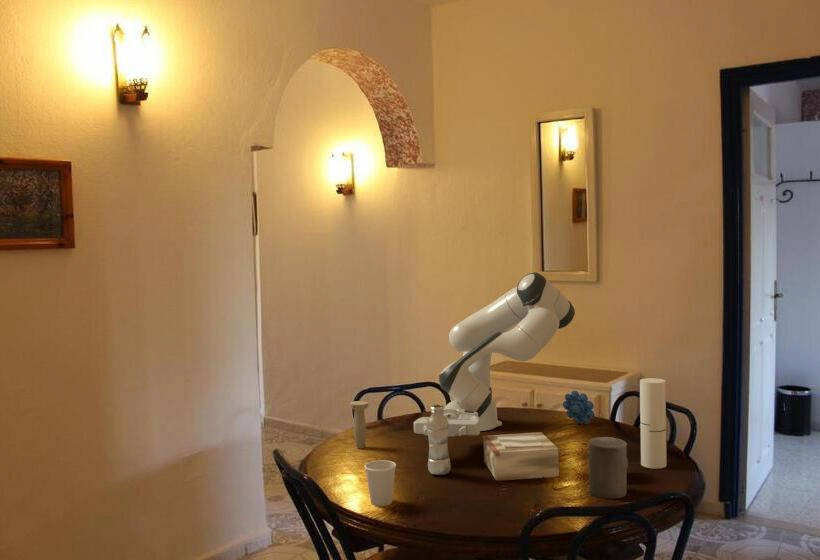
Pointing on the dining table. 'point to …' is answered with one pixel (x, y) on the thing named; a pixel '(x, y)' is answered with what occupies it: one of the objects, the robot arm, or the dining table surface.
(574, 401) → the grapes
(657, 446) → the cylindrical container
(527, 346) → the robot arm
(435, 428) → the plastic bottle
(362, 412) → the handle
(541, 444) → the riser block
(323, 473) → the dining table surface
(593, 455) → the pillar candle
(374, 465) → the dixie cup
